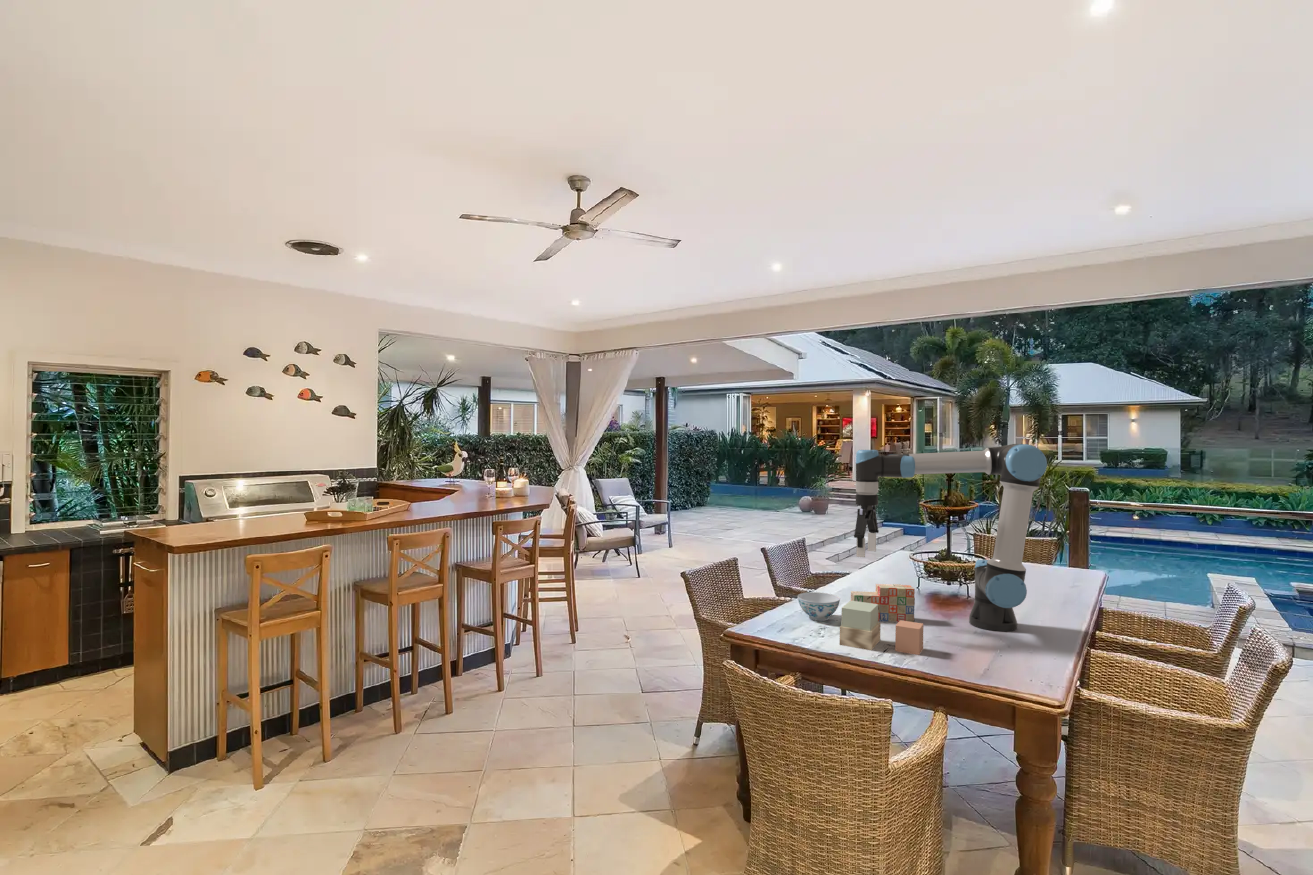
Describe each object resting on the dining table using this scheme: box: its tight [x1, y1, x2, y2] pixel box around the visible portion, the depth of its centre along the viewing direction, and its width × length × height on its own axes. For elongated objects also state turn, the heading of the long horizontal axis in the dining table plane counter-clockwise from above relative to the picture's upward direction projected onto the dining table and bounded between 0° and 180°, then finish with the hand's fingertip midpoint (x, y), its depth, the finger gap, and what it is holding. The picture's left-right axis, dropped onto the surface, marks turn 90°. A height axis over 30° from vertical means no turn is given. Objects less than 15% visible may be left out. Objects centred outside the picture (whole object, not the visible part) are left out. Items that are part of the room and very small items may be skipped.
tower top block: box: [840, 599, 879, 631], centre depth 213 cm, size 9×11×6 cm
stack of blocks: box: [850, 583, 916, 623], centre depth 240 cm, size 21×6×12 cm, turn 85°
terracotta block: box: [894, 620, 924, 656], centre depth 206 cm, size 7×7×8 cm
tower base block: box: [839, 621, 882, 651], centre depth 213 cm, size 10×12×6 cm
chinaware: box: [797, 591, 841, 622], centre depth 240 cm, size 15×15×8 cm
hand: (866, 554), depth 231 cm, fingers open, 13 cm apart
